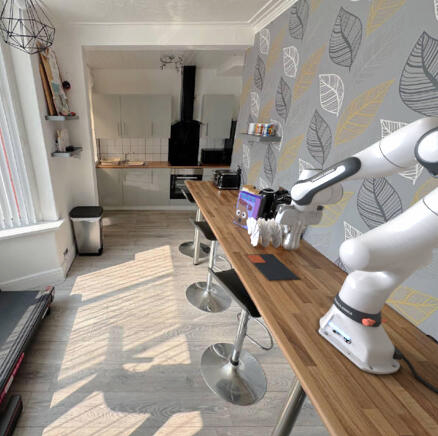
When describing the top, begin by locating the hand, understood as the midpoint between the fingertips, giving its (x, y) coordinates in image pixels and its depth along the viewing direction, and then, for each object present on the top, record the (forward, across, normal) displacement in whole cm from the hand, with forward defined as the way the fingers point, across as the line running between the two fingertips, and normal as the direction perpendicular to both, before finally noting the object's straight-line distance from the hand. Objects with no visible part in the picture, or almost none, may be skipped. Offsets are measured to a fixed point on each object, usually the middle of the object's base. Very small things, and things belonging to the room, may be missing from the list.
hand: (293, 232), depth 109 cm
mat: (+22, -2, +6) cm, 23 cm away
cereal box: (+22, +9, +54) cm, 59 cm away
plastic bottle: (+9, 0, 0) cm, 9 cm away
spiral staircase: (+22, +9, +26) cm, 36 cm away
